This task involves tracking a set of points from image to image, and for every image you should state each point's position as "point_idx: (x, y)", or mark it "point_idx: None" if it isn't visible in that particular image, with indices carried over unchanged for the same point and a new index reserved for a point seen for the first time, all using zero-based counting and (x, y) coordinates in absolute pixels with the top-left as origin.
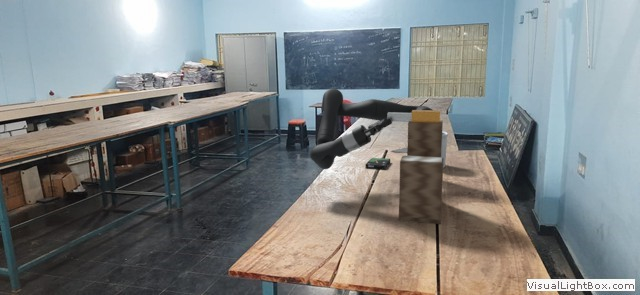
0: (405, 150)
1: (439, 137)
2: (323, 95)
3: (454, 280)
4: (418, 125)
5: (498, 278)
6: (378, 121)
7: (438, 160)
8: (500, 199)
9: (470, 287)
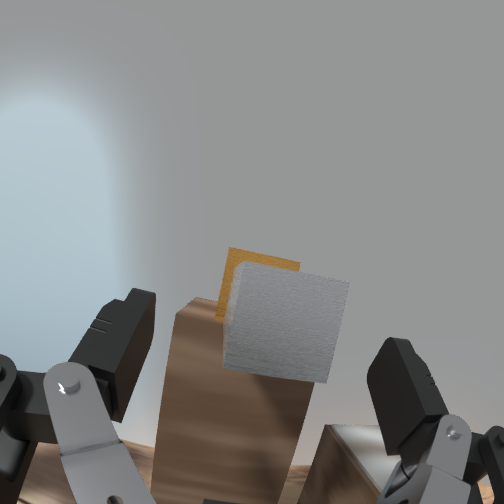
0: None
1: None
2: None
3: (487, 496)
4: None
5: None
6: (130, 457)
7: (376, 429)
8: (133, 446)
9: (484, 486)
